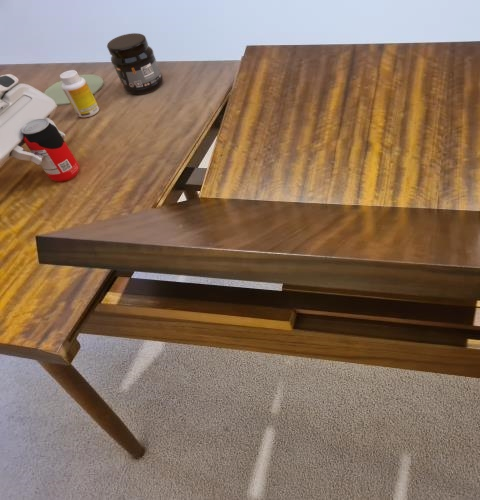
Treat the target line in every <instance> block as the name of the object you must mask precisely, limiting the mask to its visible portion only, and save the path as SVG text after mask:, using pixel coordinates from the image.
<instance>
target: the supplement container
mask: <svg viewBox="0 0 480 500" xmlns="http://www.w3.org/2000/svg"><path fill="white" fill-rule="evenodd" d="M106 48H107V50H108V52H109V54H110V55H111V57H110V62H111V64H112V65H113V68H114V69H115V72H116V74H117V76H118V78H119V81H120V82H121V85H122V87H123V89H124V91H125V92H126V93H128V94H130V95H144V94H150V93H151V92H154V91H155V90H158V89H159V88H160V87H161V85H163V82H164V76H163V74H162V72H161V70H160V66H159V64H158V61H157V60H156V56H155V54H154V50H153V48H152V47H151V46H149V42H148V40H147V37H146V35H144V34H143V33H135V32H132V33H126V34H122V35H119V36H116V37H114V38H112V39H111V40H110V41H108V42H107V45H106Z"/></svg>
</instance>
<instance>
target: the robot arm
mask: <svg viewBox="0 0 480 500" xmlns="http://www.w3.org/2000/svg"><path fill="white" fill-rule="evenodd" d="M19 81H20V80H19V78H18V77H16V76H15V75H14V74H11V73H7V74H2V75H0V168H1V167H2V166H4V164H5V163H7V162H8V161H9V159H10V158H11V157H13V158H15V159H16V160H21V161H27V162H32V163H34V164H35V165H37V166H41V165H40V164H41V163H42V162H43V161H44V159H45V156H44V155H42V154H40V153H38V152H35V153H32V152H31V151H30V152H29V151H25V150H24V147H23V146H24V145H26V143H25V142H24V140H23V139H24V136H23V133H22V132H21V128H22V127H23V126H24V127H23V129H24V128H25V127H26V126H27V124H26V123H28V122H30V121H33V120H36V119H47V120H48V121H49V123H51V124H52V125H54V126H55V127H56V128H57V130H58V131H59V133H60V135H61V136H62V138H63V139H64V140H65V138H66V136H67V135H66V134H65V133H64V132H63V131H61V130H59V128H58V127H57V125H56V124H55V122H54V120H52V118H53V117H54V115H55V114H56V112H57V108H58V105H56V103H55V101H54V100H53V99H51V98H50V97H49V96H47V95H46V94H44V92H42V91H41V90H39V89H37V88H35V87H34V86H32V85H30V84H27V83H21V82H20V83H19ZM25 124H26V125H25Z"/></svg>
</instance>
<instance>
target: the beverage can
mask: <svg viewBox="0 0 480 500" xmlns="http://www.w3.org/2000/svg"><path fill="white" fill-rule="evenodd" d="M26 124H27V126H26V127H25V128H24V129H23V127H24V126H23V127H22V128H21V132H22V133H23V136H24V139H23V140H24V142H25V145H26V146H27V148H28V149H29V151H30V153H35V152H38V153H40V154H42V155H44V156H45V159H44V161H43V162H42V163H41V164H40V165H39V166H41V168H42V169H43V171H44V173H45V174H46V175H47V177H48V178H49V179H50V180H51V181H55V182H60V183H62V182H68V181H70V180H72V179H74V178H75V177H76V176H77V175H78V174H79V171H80V164H79V162H78V161H77V159H76V157H75V156H74V154H73V153H72V150H71V149H70V148H69V145H68V144H67V143H66V141H65V139H63V138H62V136H61V135H60V133H59V131H60V130H59V129H58V130H59V131H58V130H57V128H58V127H57V126H56V127H57V128H56V127H55V126H54V125H52V124H51V123H49V121H48V120H47V119H36V120H33V121H30V122H28V123H26ZM26 124H25V125H26Z"/></svg>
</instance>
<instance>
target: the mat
mask: <svg viewBox="0 0 480 500" xmlns="http://www.w3.org/2000/svg"><path fill="white" fill-rule="evenodd" d="M78 75H79V77H82V78H84V79H85V81H86V83H87V85H88V87H89V89H90V91H91V92H92V94H93V96H94V95H96V94H97V93H98V92H99V91H100V90H102V88H103V86H104V83H105V82H104V80H103V78H102V77H101V76H99V75H96V74H89V73H88V74H78ZM62 83H63V82H62V80H61V79H60V80H59V81H57V82H54V83H53V84H51V85H50V86H49V87H48V88H46V89H45V90H44V91H43V93H44V94H46V95H47V96H49V97H50V98H51V99H53V100H54V101H55V103H56V105H57V106H66V105H71V103H70V102H69V100H68V98H67V96H66V95H65V93H64V91H63V89H62V87H61V85H62Z"/></svg>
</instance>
